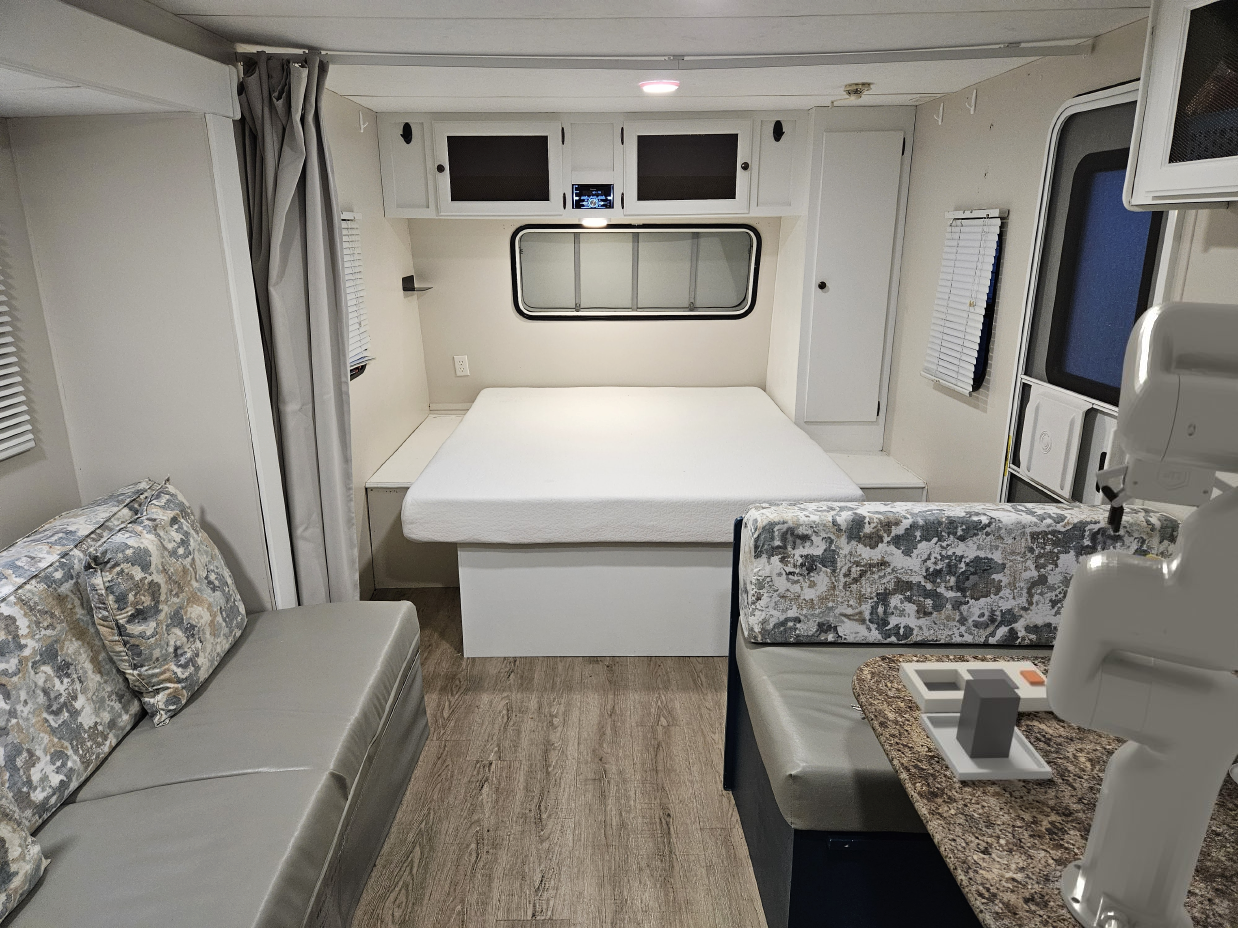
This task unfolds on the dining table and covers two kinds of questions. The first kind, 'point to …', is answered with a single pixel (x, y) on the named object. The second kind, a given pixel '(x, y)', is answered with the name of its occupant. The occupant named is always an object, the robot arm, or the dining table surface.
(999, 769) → the tray
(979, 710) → the plug
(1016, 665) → the power strip
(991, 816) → the dining table surface
